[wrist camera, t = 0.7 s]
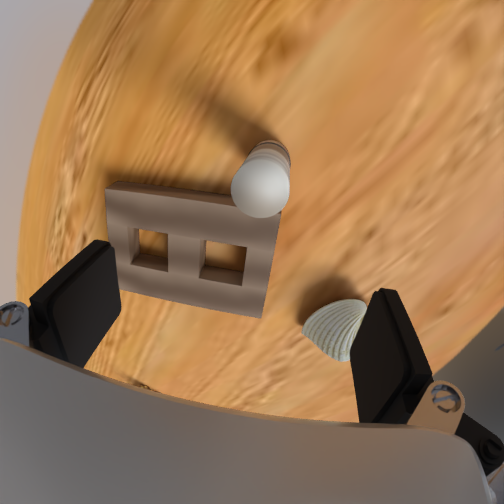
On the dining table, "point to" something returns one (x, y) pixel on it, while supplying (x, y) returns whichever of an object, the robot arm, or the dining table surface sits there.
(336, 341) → the seashell
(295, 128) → the dining table surface
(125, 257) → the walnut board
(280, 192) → the grey domed cylinder
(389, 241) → the dining table surface
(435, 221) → the dining table surface
